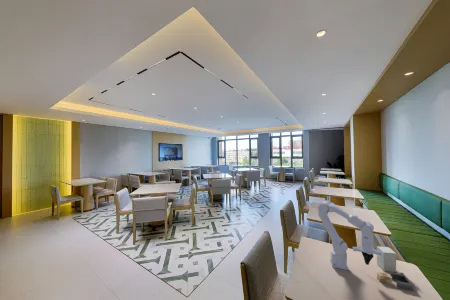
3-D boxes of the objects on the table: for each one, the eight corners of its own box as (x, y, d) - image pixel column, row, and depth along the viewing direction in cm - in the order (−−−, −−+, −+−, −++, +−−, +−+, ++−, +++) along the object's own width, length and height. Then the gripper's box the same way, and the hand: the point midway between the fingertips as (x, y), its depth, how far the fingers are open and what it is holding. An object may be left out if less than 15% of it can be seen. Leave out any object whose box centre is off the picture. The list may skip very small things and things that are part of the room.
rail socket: (397, 287, 103) (397, 282, 102) (388, 275, 112) (388, 270, 112) (413, 291, 100) (413, 285, 100) (402, 278, 109) (403, 272, 109)
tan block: (379, 281, 107) (379, 275, 107) (377, 277, 110) (377, 271, 110) (391, 284, 105) (392, 277, 105) (389, 280, 108) (389, 274, 108)
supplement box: (396, 272, 114) (397, 253, 114) (383, 271, 116) (383, 252, 115) (388, 264, 121) (389, 246, 121) (376, 263, 123) (376, 245, 122)
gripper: (355, 244, 109) (355, 265, 109) (384, 248, 104) (384, 270, 104) (351, 238, 115) (351, 258, 116) (379, 242, 110) (378, 262, 111)
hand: (366, 263), depth 111 cm, fingers closed
